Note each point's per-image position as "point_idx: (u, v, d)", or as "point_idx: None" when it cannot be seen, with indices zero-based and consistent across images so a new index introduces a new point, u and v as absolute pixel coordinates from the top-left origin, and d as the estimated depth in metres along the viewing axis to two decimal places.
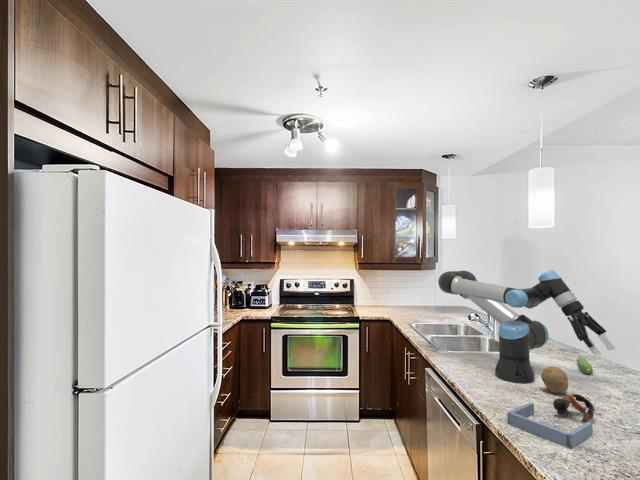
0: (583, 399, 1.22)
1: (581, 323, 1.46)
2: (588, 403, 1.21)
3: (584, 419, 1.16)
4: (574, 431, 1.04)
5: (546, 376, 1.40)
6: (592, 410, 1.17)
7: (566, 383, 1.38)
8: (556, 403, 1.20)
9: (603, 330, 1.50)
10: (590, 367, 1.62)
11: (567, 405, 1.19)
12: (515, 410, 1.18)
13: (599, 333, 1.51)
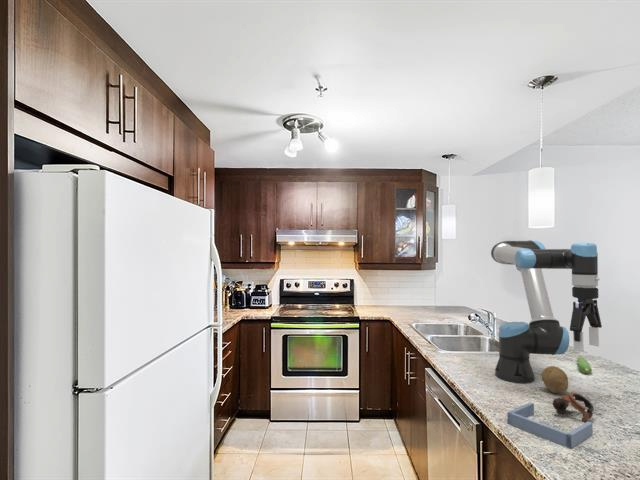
0: (582, 399, 1.22)
1: (583, 313, 1.26)
2: (587, 402, 1.21)
3: (583, 418, 1.17)
4: (574, 431, 1.04)
5: (546, 376, 1.40)
6: (591, 409, 1.18)
7: (566, 383, 1.38)
8: (556, 402, 1.21)
9: (599, 324, 1.32)
10: (589, 367, 1.62)
11: (566, 404, 1.20)
12: (515, 410, 1.18)
13: (592, 325, 1.33)
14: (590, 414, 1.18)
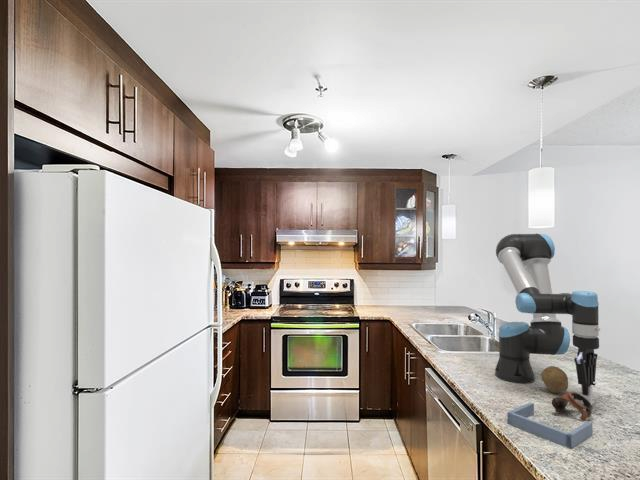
0: (581, 398, 1.23)
1: (587, 366, 1.26)
2: (586, 401, 1.22)
3: (582, 417, 1.18)
4: (574, 431, 1.04)
5: (546, 376, 1.40)
6: (590, 408, 1.18)
7: (566, 383, 1.38)
8: (555, 401, 1.22)
9: (593, 383, 1.28)
10: None
11: (565, 403, 1.21)
12: (515, 410, 1.18)
13: None
14: (589, 413, 1.18)
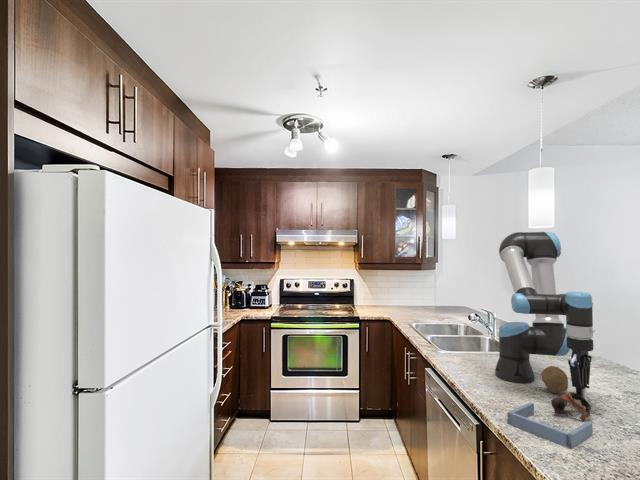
0: (579, 398, 1.23)
1: (581, 368, 1.24)
2: (584, 401, 1.22)
3: (582, 417, 1.17)
4: (574, 431, 1.04)
5: (546, 376, 1.40)
6: (589, 408, 1.18)
7: (566, 383, 1.38)
8: (555, 402, 1.21)
9: None
10: None
11: (565, 404, 1.20)
12: (515, 410, 1.18)
13: None
14: (588, 413, 1.18)
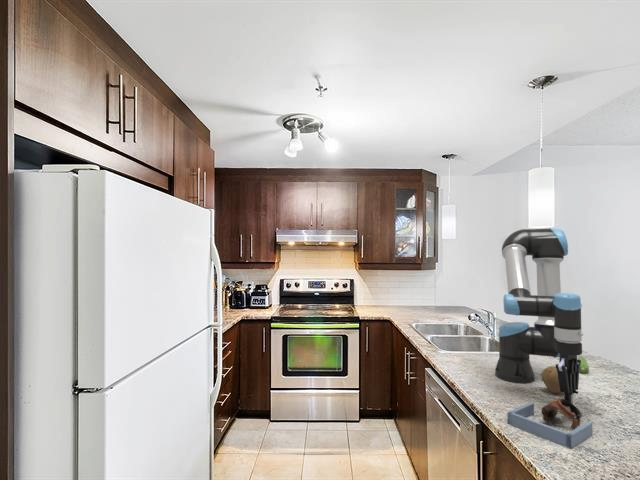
0: (568, 404, 1.18)
1: (569, 373, 1.19)
2: (574, 407, 1.17)
3: (573, 425, 1.12)
4: (574, 431, 1.04)
5: (546, 376, 1.40)
6: (580, 415, 1.13)
7: None
8: (545, 410, 1.15)
9: (576, 391, 1.20)
10: (585, 366, 1.63)
11: (556, 412, 1.14)
12: (515, 410, 1.18)
13: None
14: (579, 420, 1.13)
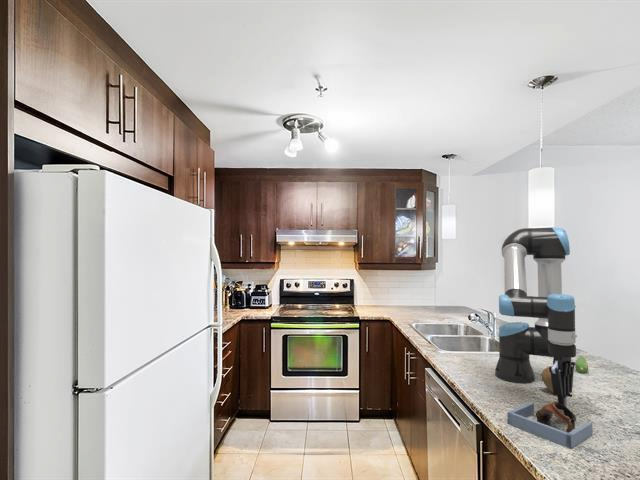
0: (562, 407, 1.16)
1: (563, 376, 1.16)
2: (568, 411, 1.14)
3: (568, 429, 1.09)
4: (574, 431, 1.04)
5: (546, 376, 1.40)
6: (575, 419, 1.11)
7: None
8: (540, 414, 1.12)
9: (569, 394, 1.18)
10: (584, 366, 1.64)
11: (551, 415, 1.11)
12: (515, 410, 1.18)
13: None
14: (573, 424, 1.11)
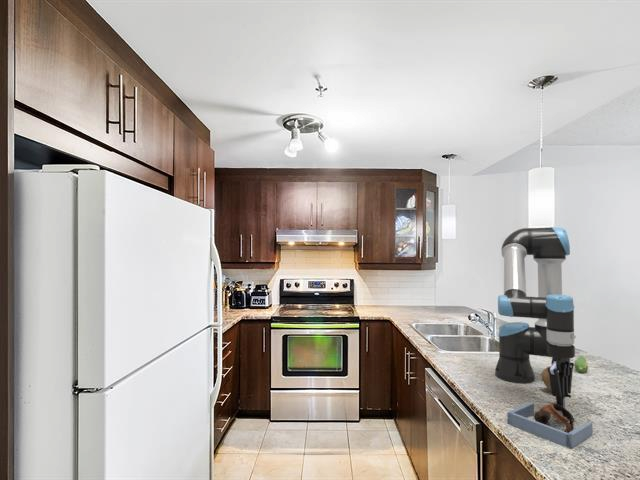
0: (560, 408, 1.15)
1: (561, 377, 1.16)
2: (566, 412, 1.14)
3: (566, 430, 1.09)
4: (574, 431, 1.04)
5: (546, 376, 1.40)
6: (573, 420, 1.10)
7: None
8: (538, 416, 1.11)
9: None
10: (583, 366, 1.64)
11: (549, 417, 1.11)
12: (515, 410, 1.18)
13: None
14: (572, 425, 1.10)
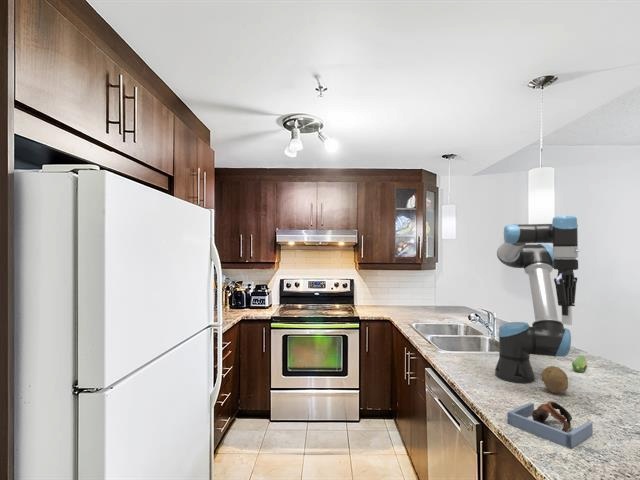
0: (558, 407, 1.16)
1: (566, 287, 1.30)
2: (564, 410, 1.15)
3: (564, 429, 1.10)
4: (574, 431, 1.04)
5: (546, 376, 1.40)
6: (570, 418, 1.11)
7: (566, 383, 1.38)
8: (536, 414, 1.12)
9: (572, 304, 1.32)
10: (580, 365, 1.65)
11: (547, 415, 1.12)
12: (515, 410, 1.18)
13: None
14: (569, 423, 1.11)
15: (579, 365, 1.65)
